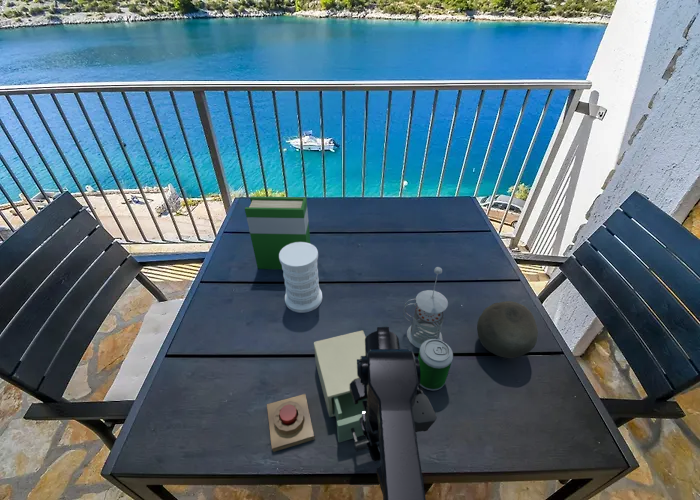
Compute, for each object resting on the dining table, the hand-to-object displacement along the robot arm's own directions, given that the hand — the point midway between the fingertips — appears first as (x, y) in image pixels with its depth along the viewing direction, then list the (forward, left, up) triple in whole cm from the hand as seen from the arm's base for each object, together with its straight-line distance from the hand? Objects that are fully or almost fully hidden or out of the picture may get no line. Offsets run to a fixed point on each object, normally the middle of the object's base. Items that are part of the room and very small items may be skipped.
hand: (379, 450), depth 62 cm
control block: (+15, +15, -12) cm, 25 cm away
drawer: (+13, 0, -11) cm, 17 cm away
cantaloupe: (+19, -42, -12) cm, 48 cm away
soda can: (+16, -20, -12) cm, 29 cm away
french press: (+29, -24, -12) cm, 40 cm away
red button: (+15, +15, -9) cm, 23 cm away
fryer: (+21, 0, -12) cm, 25 cm away
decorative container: (+52, +5, -12) cm, 54 cm away
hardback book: (+71, +8, -12) cm, 73 cm away
